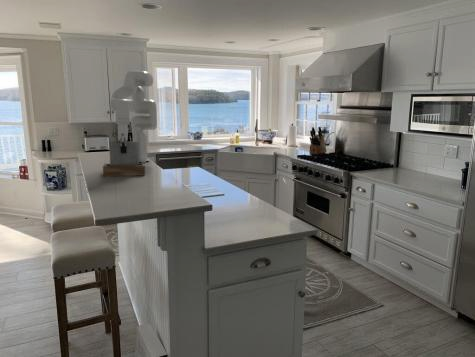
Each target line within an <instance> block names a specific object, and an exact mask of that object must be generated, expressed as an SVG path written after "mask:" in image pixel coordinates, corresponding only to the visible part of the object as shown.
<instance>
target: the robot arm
mask: <svg viewBox="0 0 475 357" xmlns="http://www.w3.org/2000/svg"><path fill="white" fill-rule="evenodd" d="M153 83H154V78H153V75H152V74H151V73H150V72H148V71H145V70H128V71H127V72H126V73H125V77H124V80H123V84H122V86H120V87H118V88H117V89H115V91H114V92H113V93H112V95H111V98H110V101H109V102H110V104H109V107H110V110H111V111H114V112H115V124H116V125H117V141H121V140H122V141H121V146H120V147H121V153H127V150H126V142H128V139H129V138H128V137H129V136H128V134H129V131H128V130H129V129H128V128H129V127H128V126H129V125H130V127H131V134H132V141H137V142H138V163H139V162H141V163H147V162H146V161H149V160H150V158H148V136H147V134H146V133H145V131H153V130H156V129H157V125H158V120H157V119H158V115H157V114H158V113H157V112H158V111H157V109H158V108H157V103H156V101H155V100H154V99H146V93H145V92H146V91H145V90H144V88H143V87H152V86H153ZM128 97H131V98H128ZM131 112H133V113H134V114H139V115H133V116H132V117H131V118H130V113H131ZM142 114H143V115H142ZM144 114H145V115H144ZM124 140H125V141H124ZM149 162H150V161H149Z"/></svg>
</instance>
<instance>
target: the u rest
mask: <svg viewBox="0 0 475 357" xmlns="http://www.w3.org/2000/svg"><path fill="white" fill-rule="evenodd" d="M138 163H139V162H138ZM132 175H145V176H146V162H141V163H139V166H110V163H104V165H103V166H102V177H105V178H106V177H107V176H109V177H133V176H132Z"/></svg>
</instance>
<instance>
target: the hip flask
mask: <svg viewBox="0 0 475 357" xmlns="http://www.w3.org/2000/svg"><path fill="white" fill-rule="evenodd" d="M121 141H122V140H120V141H118V140H114V141H108V143H109V144H108V146H109V148H108V149H109V164H110V166H139V162H138V142H137V141H133V140H132V141H127V142H126V150H127V153H121V147H120V146H121ZM124 141H125V140H124Z"/></svg>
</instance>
